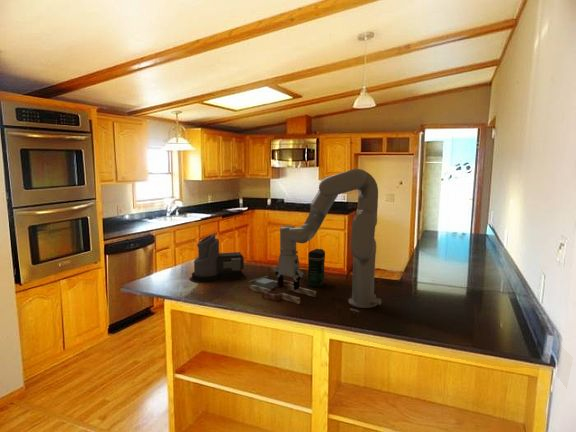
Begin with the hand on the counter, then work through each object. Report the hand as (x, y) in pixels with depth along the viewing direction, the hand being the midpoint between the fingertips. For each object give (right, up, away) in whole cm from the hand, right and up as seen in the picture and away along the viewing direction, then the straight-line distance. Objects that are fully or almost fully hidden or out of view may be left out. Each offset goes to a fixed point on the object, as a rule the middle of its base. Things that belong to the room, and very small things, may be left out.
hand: (288, 287), depth 183 cm
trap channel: (-3, -3, +3) cm, 5 cm away
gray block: (-12, -3, +10) cm, 16 cm away
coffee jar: (+14, -2, +17) cm, 22 cm away
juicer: (-39, 0, +28) cm, 48 cm away
